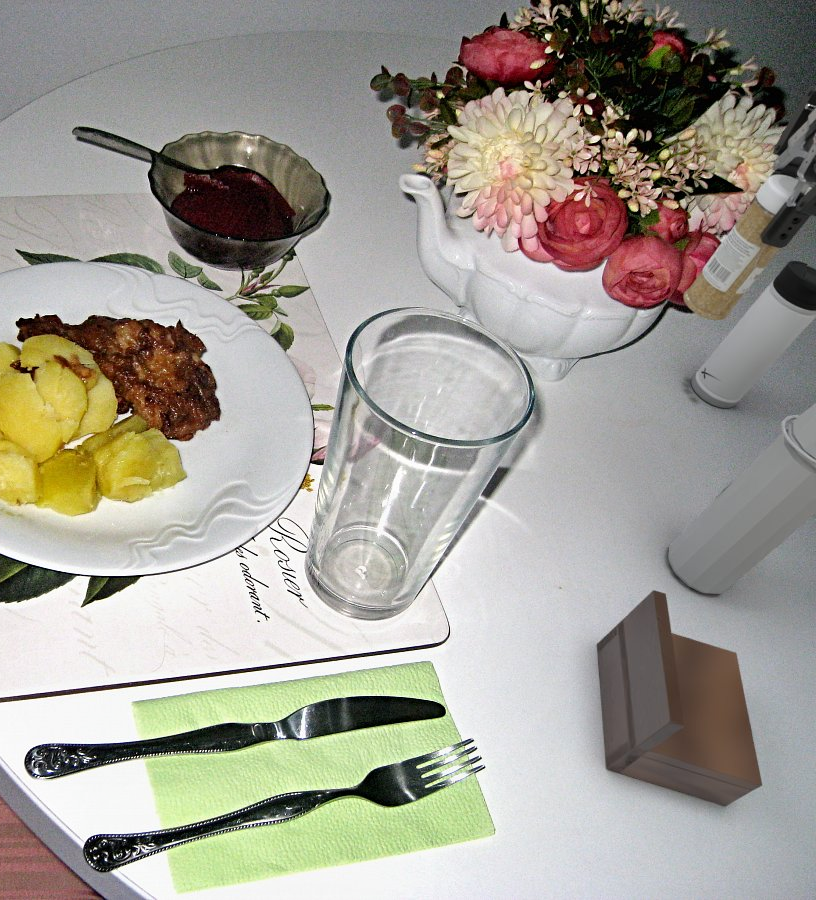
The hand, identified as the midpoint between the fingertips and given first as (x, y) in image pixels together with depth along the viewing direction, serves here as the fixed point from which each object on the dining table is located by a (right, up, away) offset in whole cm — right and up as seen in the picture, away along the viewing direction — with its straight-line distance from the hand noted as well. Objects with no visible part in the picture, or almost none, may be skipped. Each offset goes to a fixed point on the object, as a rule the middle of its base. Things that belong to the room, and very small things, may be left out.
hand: (765, 226), depth 80 cm
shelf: (-8, -45, +3) cm, 46 cm away
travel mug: (+16, -13, +38) cm, 43 cm away
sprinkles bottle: (-2, -6, +7) cm, 10 cm away
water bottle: (+3, -32, +17) cm, 37 cm away
